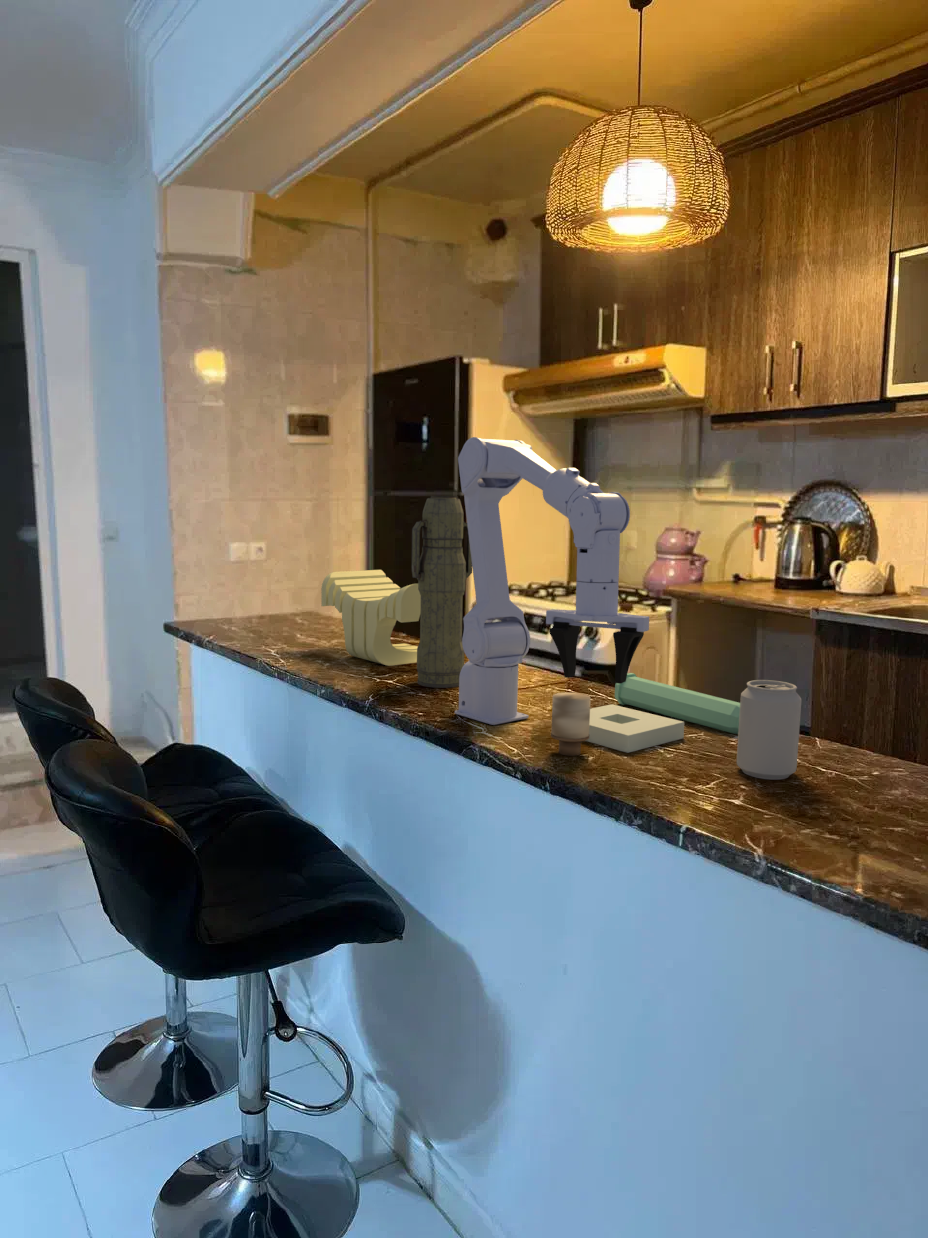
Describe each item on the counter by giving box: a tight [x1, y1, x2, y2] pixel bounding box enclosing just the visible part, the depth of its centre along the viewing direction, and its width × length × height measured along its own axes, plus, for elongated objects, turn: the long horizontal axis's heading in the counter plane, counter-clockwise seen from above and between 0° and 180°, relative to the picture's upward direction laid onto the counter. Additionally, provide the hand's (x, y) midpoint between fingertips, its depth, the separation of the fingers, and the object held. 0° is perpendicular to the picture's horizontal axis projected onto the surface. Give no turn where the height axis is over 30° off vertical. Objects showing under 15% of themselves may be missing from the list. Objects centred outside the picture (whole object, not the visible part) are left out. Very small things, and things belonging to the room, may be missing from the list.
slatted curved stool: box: [320, 569, 421, 667], centre depth 195 cm, size 30×16×18 cm, turn 40°
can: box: [736, 679, 802, 781], centre depth 119 cm, size 8×8×12 cm
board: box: [584, 704, 685, 754], centre depth 137 cm, size 14×13×2 cm
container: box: [614, 672, 740, 735], centre depth 148 cm, size 6×6×25 cm
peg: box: [550, 692, 591, 757], centre depth 127 cm, size 5×5×8 cm
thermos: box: [411, 495, 473, 689], centre depth 170 cm, size 9×12×35 cm
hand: (594, 679), depth 126 cm, fingers open, 7 cm apart
